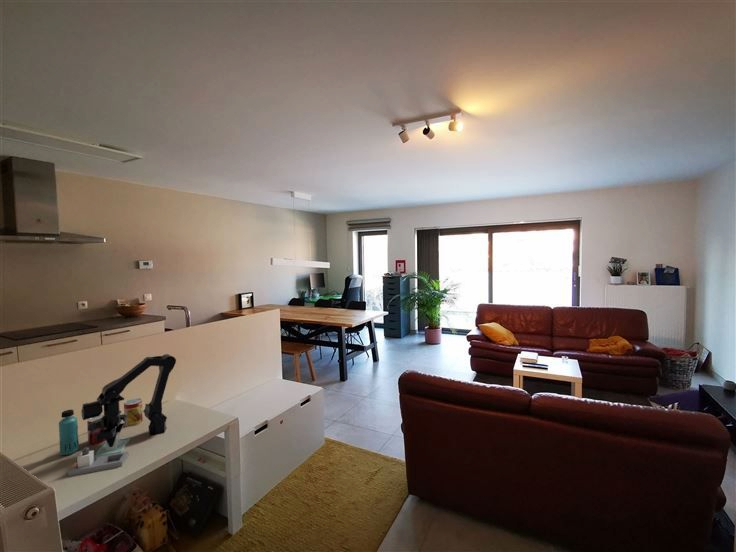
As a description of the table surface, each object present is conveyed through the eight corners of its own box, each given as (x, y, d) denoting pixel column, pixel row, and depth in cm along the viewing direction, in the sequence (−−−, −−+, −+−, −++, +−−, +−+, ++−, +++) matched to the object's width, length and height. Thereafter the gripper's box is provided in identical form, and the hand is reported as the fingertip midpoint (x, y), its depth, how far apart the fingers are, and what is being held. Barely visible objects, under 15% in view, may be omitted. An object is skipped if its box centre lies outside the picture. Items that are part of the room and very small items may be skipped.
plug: (119, 444, 152) (119, 426, 152) (116, 448, 148) (116, 431, 148) (109, 445, 151) (109, 428, 150) (106, 450, 147) (105, 432, 147)
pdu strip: (128, 456, 143) (128, 450, 143) (122, 467, 136) (121, 460, 136) (78, 465, 137) (78, 458, 137) (68, 477, 130) (68, 470, 129)
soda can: (96, 447, 151) (95, 422, 150) (84, 445, 152) (82, 421, 151) (111, 439, 158) (110, 415, 157) (99, 437, 159) (98, 413, 159)
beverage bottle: (62, 460, 141) (60, 415, 140) (57, 455, 144) (55, 412, 144) (81, 452, 146) (79, 409, 146) (76, 448, 150) (74, 406, 149)
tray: (105, 443, 154) (105, 440, 154) (130, 439, 157) (130, 436, 157) (93, 458, 142) (93, 456, 142) (120, 454, 145) (120, 451, 145)
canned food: (145, 422, 174) (144, 400, 174) (127, 428, 168) (126, 405, 167) (139, 418, 179) (138, 397, 178) (122, 423, 172) (121, 402, 172)
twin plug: (94, 463, 137) (93, 444, 137) (90, 469, 134) (89, 449, 133) (82, 465, 136) (81, 446, 136) (78, 471, 132) (77, 451, 132)
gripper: (99, 406, 155) (100, 437, 155) (80, 424, 137) (81, 459, 138) (126, 402, 159) (128, 433, 159) (111, 419, 141) (113, 454, 142)
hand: (113, 444), depth 149 cm, fingers closed on plug, 4 cm apart
